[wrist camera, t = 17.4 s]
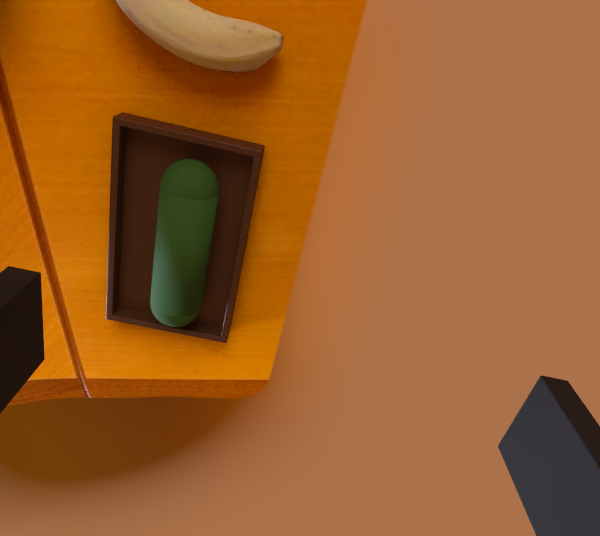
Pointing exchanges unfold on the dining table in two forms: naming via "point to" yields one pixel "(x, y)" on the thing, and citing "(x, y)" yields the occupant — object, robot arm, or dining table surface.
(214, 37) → the fruit
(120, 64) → the dining table surface
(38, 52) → the dining table surface
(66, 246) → the dining table surface
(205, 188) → the cucumber
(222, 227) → the tray
